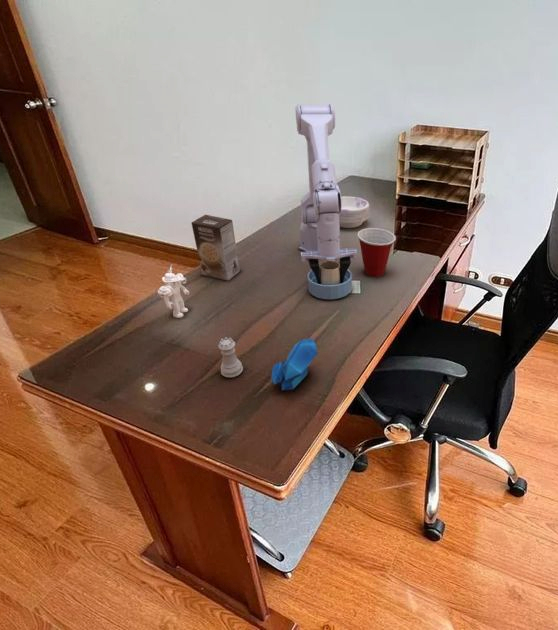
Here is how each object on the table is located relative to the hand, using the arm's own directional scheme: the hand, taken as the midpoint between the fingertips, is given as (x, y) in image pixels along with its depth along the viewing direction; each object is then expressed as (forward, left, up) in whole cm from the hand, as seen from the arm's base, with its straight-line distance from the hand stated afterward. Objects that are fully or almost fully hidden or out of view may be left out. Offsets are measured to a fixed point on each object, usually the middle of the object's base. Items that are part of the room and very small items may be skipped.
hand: (330, 282), depth 119 cm
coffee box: (-30, -14, -2) cm, 33 cm away
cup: (0, 0, -2) cm, 2 cm away
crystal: (+20, -31, -2) cm, 37 cm away
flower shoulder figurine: (-20, -33, -2) cm, 39 cm away
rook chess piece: (+8, -38, -2) cm, 39 cm away
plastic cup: (+3, +16, -2) cm, 16 cm away
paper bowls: (-28, +39, -2) cm, 48 cm away
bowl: (0, 0, -2) cm, 2 cm away
